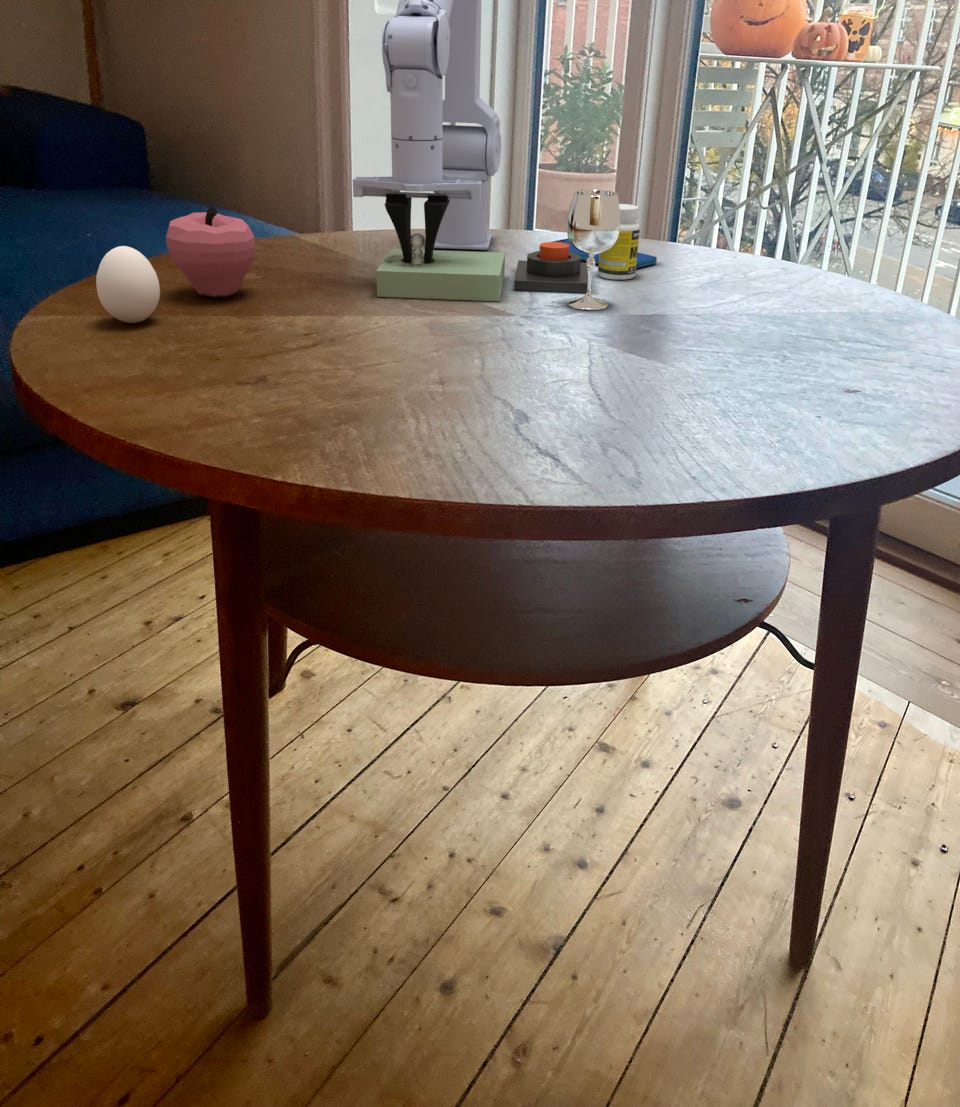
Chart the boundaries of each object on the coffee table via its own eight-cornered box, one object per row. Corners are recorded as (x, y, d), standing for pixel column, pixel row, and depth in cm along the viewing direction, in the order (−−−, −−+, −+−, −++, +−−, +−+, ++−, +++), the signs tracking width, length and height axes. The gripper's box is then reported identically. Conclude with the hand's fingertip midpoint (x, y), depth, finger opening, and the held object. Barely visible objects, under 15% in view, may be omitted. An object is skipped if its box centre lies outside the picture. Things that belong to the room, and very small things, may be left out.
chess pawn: (432, 278, 117) (433, 235, 114) (409, 279, 116) (409, 235, 114) (426, 273, 119) (427, 230, 117) (403, 274, 118) (403, 230, 116)
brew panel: (517, 269, 127) (518, 245, 125) (588, 272, 126) (590, 248, 125) (514, 290, 117) (515, 264, 116) (590, 293, 117) (592, 267, 115)
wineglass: (579, 313, 108) (587, 198, 103) (552, 301, 113) (558, 190, 107) (623, 308, 111) (633, 195, 105) (594, 296, 115) (603, 187, 109)
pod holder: (392, 273, 123) (391, 248, 122) (504, 277, 123) (505, 252, 121) (376, 297, 113) (376, 270, 112) (499, 301, 112) (499, 274, 111)
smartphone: (626, 265, 126) (538, 244, 135) (625, 273, 127) (537, 251, 136) (660, 257, 131) (572, 237, 140) (659, 264, 131) (572, 244, 140)
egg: (128, 333, 98) (116, 255, 95) (89, 323, 101) (76, 247, 98) (176, 320, 103) (167, 245, 99) (138, 311, 106) (127, 237, 102)
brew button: (539, 255, 122) (540, 241, 121) (568, 257, 122) (569, 242, 121) (538, 262, 119) (539, 247, 118) (568, 263, 119) (569, 248, 118)
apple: (273, 292, 114) (266, 201, 109) (228, 309, 107) (218, 212, 102) (205, 282, 117) (195, 193, 113) (157, 298, 110) (144, 204, 106)
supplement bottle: (633, 281, 122) (640, 210, 118) (595, 279, 123) (601, 208, 119) (636, 273, 126) (643, 204, 122) (599, 270, 127) (604, 202, 123)
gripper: (345, 140, 107) (351, 267, 114) (479, 144, 106) (476, 272, 113) (357, 133, 113) (361, 254, 120) (483, 137, 113) (481, 258, 119)
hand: (418, 262), depth 117 cm, fingers closed on chess pawn, 2 cm apart
